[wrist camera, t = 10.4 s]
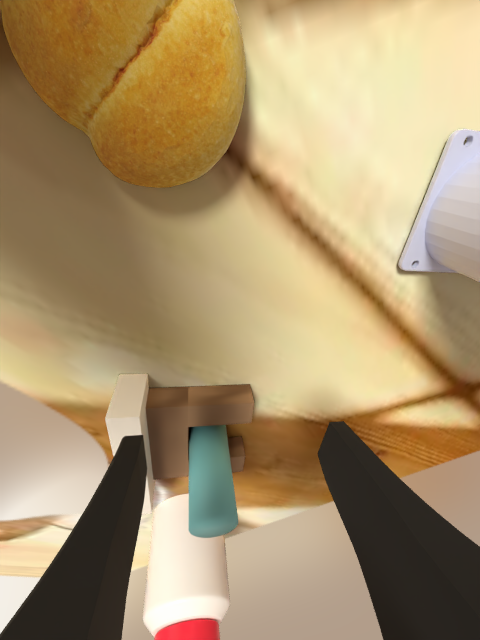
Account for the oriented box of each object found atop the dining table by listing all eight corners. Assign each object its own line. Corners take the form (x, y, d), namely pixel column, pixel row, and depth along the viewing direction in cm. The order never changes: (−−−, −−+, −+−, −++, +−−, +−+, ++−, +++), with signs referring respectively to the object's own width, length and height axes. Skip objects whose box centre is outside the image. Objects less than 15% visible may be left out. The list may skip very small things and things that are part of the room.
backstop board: (147, 373, 21) (139, 416, 17) (156, 467, 27) (151, 513, 23) (119, 374, 20) (105, 418, 17) (134, 469, 27) (126, 516, 23)
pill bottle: (186, 533, 35) (184, 673, 25) (138, 515, 31) (115, 672, 22) (234, 506, 33) (252, 645, 24) (190, 484, 29) (190, 639, 20)
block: (249, 384, 23) (254, 403, 21) (239, 451, 28) (242, 471, 26) (148, 388, 22) (145, 408, 20) (155, 458, 26) (153, 479, 24)
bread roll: (157, 215, 16) (148, 233, 12) (-10, 32, 11) (-98, -20, 8) (278, 103, 14) (307, 88, 10) (135, -167, 9) (104, -347, 6)
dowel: (226, 409, 24) (240, 510, 17) (224, 433, 26) (236, 533, 19) (188, 412, 24) (188, 516, 17) (189, 436, 25) (188, 540, 18)
